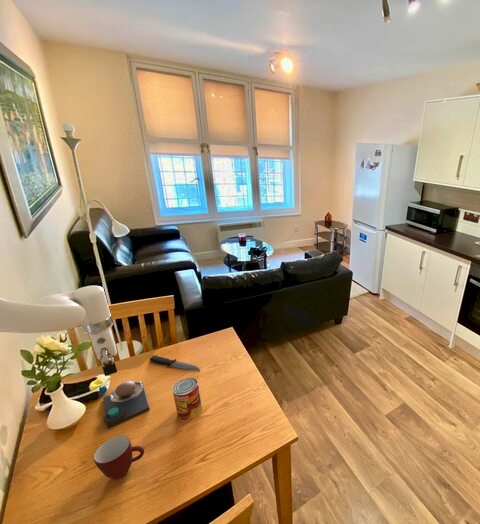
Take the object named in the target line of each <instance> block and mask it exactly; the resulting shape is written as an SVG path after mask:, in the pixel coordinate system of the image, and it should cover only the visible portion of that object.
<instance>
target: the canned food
mask: <svg viewBox="0 0 480 524" xmlns="http://www.w3.org/2000/svg"><path fill="white" fill-rule="evenodd" d="M171 391H172V395H173V400H174V404H175V409H176V414H177V417H178V418H179V420H181V421H189V420H192V419H194V418H196V417H197V416H198V415H199V414H200V413H201V412H202V410H203V402H202V396H201V391H200V386H199V381H198V379H197V378H195V377H190V376H189V377H185V378H182V379H180V380H178V381H176V382H175V383H174V385H173V386H172V389H171Z"/></svg>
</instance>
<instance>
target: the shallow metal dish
mask: <svg viewBox="0 0 480 524" xmlns="http://www.w3.org/2000/svg"><path fill="white" fill-rule="evenodd" d="M131 381H132V382H134V383H135V384H136V388H135V390H134V391H133V392H132V393H131V394H129V395H127V396H118V395H116V393H115V390H116V388H115V389H114V390H112V391H111V392H110V393H109V395H110V399H111V402H112V403H120V404H122V403H125V402H128V401H131V400H133V399H135V398H136V397H137V396H138V395H139V394H140V393H141V392H142V391H143V387H144V385H143V386H142V383H143V382H142V381H138V380H131Z"/></svg>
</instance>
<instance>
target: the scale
mask: <svg viewBox="0 0 480 524" xmlns="http://www.w3.org/2000/svg"><path fill="white" fill-rule="evenodd" d="M141 383H142V386H143V391H142V392H141V393H140V394H139V395H138V396H137V397H136V398H135V399H133V400H131V401H128V402H125V403H122V404H120V403H112V402H111V399H110V394H109V395H106V396H104V397H103V405H104V406H103V407H104V415H103V422H104V424H105V425H106V429H107V430H109V429H111V428H113V427H115V426H118V425H120V424H123V423H124V422H126V421H129V420H131V419H133V418H136V417H138V416H140V415H142V414H144V413H146V412H149V411H151V410H150V409H151V408H150V404H149V401H148V397H147V393H146V391H145V387H144V383H143V382H141ZM115 407H117V408H118V409H119V415H117V416H116V417H114V418H110V417H109V415H108V411H109V410H110V409H112V408H115Z"/></svg>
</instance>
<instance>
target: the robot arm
mask: <svg viewBox="0 0 480 524" xmlns="http://www.w3.org/2000/svg"><path fill="white" fill-rule="evenodd" d="M113 321H114V320H113V317H112V314H111V311H110V306H109V304H108V299H107V295H106V293H105V290H104V288H103V287H102V286H100V285H87V286H83V287H80V288H77V289H75V290H71V291H65V292H60V293H53V294H49V295H45V296H43V297H41V298H39V299H38V300H36V302H35V303H34V304H32V303H24V302H18V301H13V300H10V299H7V298H6V299H5V298H2V297H0V333H11V334H12V333H13V334H14V333H15V334H42V333H54V332H64V331H68V330H71V329H74V328H77V327H78V326H80V327H81V331H82V333H84V334H86V335H89V337H90V342H91V344H92V347H93V350H94V353H95V356H96V358H97V360H99V361H100V362H101V368H102V371H103V374H104V377H108V376H111V375H114V374H117V373H118V369H117V365H116V362H115V361H114V359H113V358H114V357H115V356H116V355H117V354H118V350H117V345H116V342H115V337H114V335H113V332H112V327H113V326H114V322H113Z"/></svg>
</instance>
